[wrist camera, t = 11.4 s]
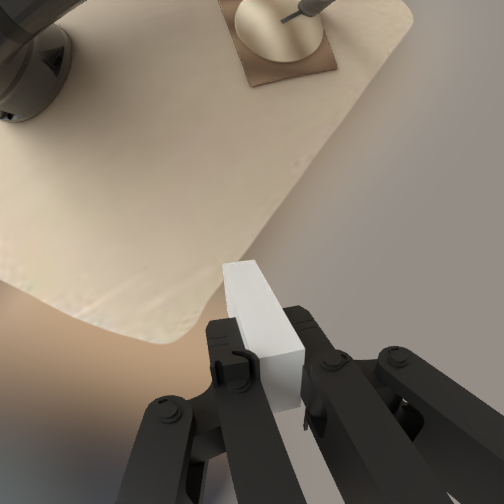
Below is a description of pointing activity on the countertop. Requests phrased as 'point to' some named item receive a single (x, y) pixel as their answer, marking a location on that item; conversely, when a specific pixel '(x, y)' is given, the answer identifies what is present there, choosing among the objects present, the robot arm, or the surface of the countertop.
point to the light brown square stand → (268, 70)
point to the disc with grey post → (280, 28)
